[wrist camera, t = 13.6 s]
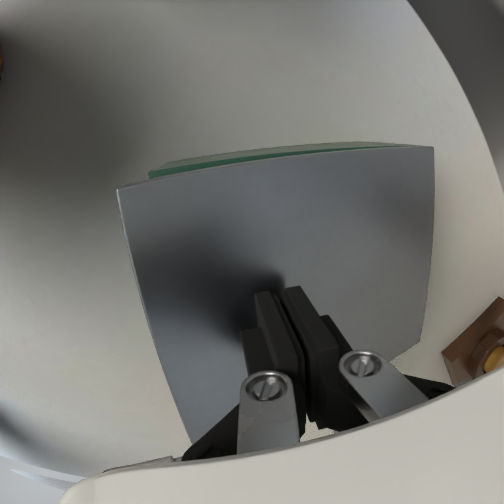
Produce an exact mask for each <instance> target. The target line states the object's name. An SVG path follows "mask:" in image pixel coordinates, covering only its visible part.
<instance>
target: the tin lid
mask: <svg viewBox="0 0 504 504" xmlns="http://www.w3.org/2000/svg"><path fill="white" fill-rule="evenodd" d="M115 191H116V196H117V201H118V206H119V211H120V216H121V221H122V226H123V230H124V235H125V239H126V244H127V248H128V252H129V256H130V261H131V265H132V269H133V272H134V276H135V280H136V284H137V288H138V291H139V295H140V298H141V302H142V306H143V309H144V312H145V316H146V319H147V322H148V326H149V329H150V332H151V335H152V339H153V342H154V345H155V348H156V351H157V354H158V357H159V360H160V363H161V366H162V369H163V371H164V374H165V377H166V380H167V383H168V385H169V388H170V391H171V393H172V396H173V399H174V401H175V404H176V407H177V409H178V412H179V414H180V417H181V419H182V422H183V424H184V427H185V429H186V431H187V434H188V436H189V439H190V441H191V443H192V445H193V444H194V443H196V442H197V441H198V440H199V439H200V438H201V437H202V436H204V435H205V434H206V433H207V432H208V431H209V430H210V429H211V428H213V427H214V426H215V425H216V424H217V423H218V422H219V421H220V420H221V419H222V418H224V417H225V416H226V415H227V414H228V413H229V412H230V411H231V410H232V409H233V408H234V407H235V406H236V405H238V404H239V401H240V388H241V384H242V382H243V381H244V380H245V379H246V378H247V377H248V373H247V368H246V363H245V357H244V352H243V346H242V340H241V333H240V331H243V330H248V329H254V328H258V320H257V312H256V304H255V295H254V294H255V293H259V292H265V291H270V293H271V294H276V295H277V297H278V299H279V301H280V293H282V292H284V291H285V288H288V287H294V286H299V285H300V286H301V288H302V289H303V291H304V292H305V294H306V295H307V297H308V298H309V300H310V301H311V303H312V305H313V306H314V308H315V309H316V311H317V312H318V314H319V315H320V316H322V315H329V316H330V317H331V319H332V320H333V322H334V323H335V324H336V326H337V327H338V329H339V330H340V332H341V333H342V335H343V336H344V337H345V339H346V340H347V342H348V343H349V345H350V346H351V348H352V349H353V351H354V350H360V349H366V350H372V351H375V352H377V353H379V354H380V355H382V356H383V357H384V358H385V359H386V360H387V361H391V360H392V359H394V358H396V357H397V356H399V355H400V354H402V353H403V352H405V351H406V350H408V349H409V348H411V347H412V346H414V345H415V344H417V343H418V342H419V341H420V336H421V331H422V325H423V319H424V313H425V307H426V300H427V292H428V284H429V276H430V266H431V256H432V243H433V227H434V197H435V171H434V147H431V146H406V147H385V148H368V149H354V150H342V151H331V152H320V153H311V154H301V155H293V156H284V157H276V158H269V159H261V160H254V161H247V162H240V163H234V164H228V165H221V166H215V167H209V168H204V169H198V170H192V171H187V172H182V173H176V174H171V175H166V176H161V177H156V178H152V179H147V180H142V181H138V182H133V183H129V184H124V185H120V186H117V187H116V188H115Z"/></svg>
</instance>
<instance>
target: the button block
mask: <svg viewBox="0 0 504 504" xmlns="http://www.w3.org/2000/svg"><path fill="white" fill-rule="evenodd" d="M499 346H503V347H504V299H502V298H501V297H498V298H497V299H496V300H495V301H494V302H493V303H492V304H491V305H490V306H489V308H488V309H487V310H486V311H485V312H484V313H483V314H482V315H481V316H480V317H479V318H478V319H477V320H476V321H475V322H474V323H473V324H472V325H471V326H470V327H468V328H467V329H466V330H465V331H464V332H463V333H462V334H461V335H460V336H459V337H458V338H457V339H456V340H455V341H453V342H452V343H451V344H450V345H449V346H448V347H447V348H446V349H445V350H443V351H442V352H441V353H442V356H443V358H444V361H445V364H446V367H447V369H448V372H449V375H450V378H451V381H452V384H453V385H455V383H459V382H463V381H467V380H471V379H475V378H478V377H480V376H482V375H484V374H486V372H485V371H484V369H483V368H484V365H485V363H486V361H487V359H488V358H489V356H490V355H491V353H492V352H493V351H494V350H495V349H496V348H497V347H499Z"/></svg>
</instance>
